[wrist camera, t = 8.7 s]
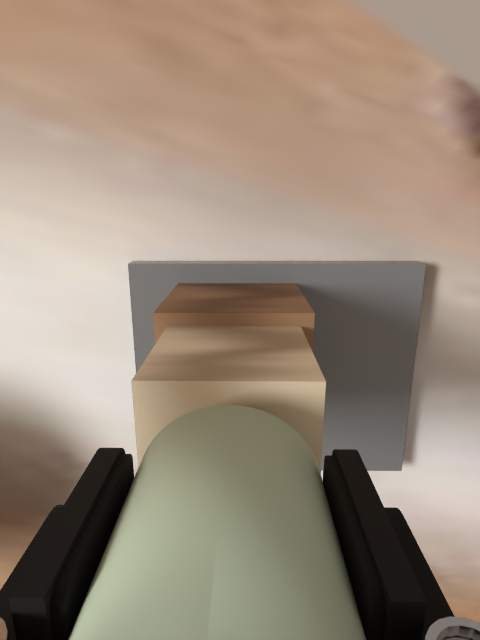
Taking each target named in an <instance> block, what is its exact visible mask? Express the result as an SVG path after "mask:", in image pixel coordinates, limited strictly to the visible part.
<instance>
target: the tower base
mask: <svg viewBox="0 0 480 640" xmlns="http://www.w3.org/2000/svg"><path fill="white" fill-rule="evenodd" d="M314 320H315V313H314V311H313V310H312V308H311V307H310V305H309V303H308V302H307V300H306V299H305V297H304V296H303V294H302V292H301V291H300V289H299V288H298V286H297V285H296V283H178V284H177V285H176V287H175V288H174V289H173V290H172V291H171V292H170V294H169V295H168V296H167V297H166V298H165V299H164V301H163V302H162V303H161V304H160V305H159V306H158V308H157V309H156V310H155V311H154V312H153V322H154V339H155V344H156V342H157V341H158V339H159V338H160V336H161V334H162V333H163V331H164V330H165V328H166V327H167V326H301V328H302V330H303V332H304V334H305V337H306V339H307V341H308V343H309V345H310V348H311V350H312V352H313V340H314Z"/></svg>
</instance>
